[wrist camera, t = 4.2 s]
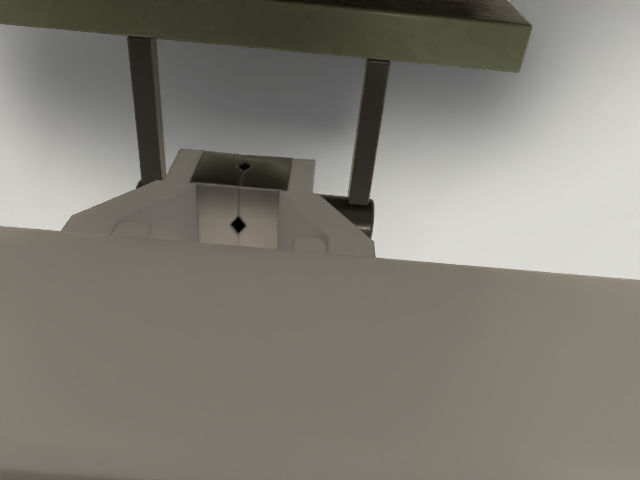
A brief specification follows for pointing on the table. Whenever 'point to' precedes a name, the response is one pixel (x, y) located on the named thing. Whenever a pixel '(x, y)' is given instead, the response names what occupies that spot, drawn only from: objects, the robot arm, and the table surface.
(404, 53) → the drawer
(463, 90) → the table surface
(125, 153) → the table surface
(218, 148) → the table surface
